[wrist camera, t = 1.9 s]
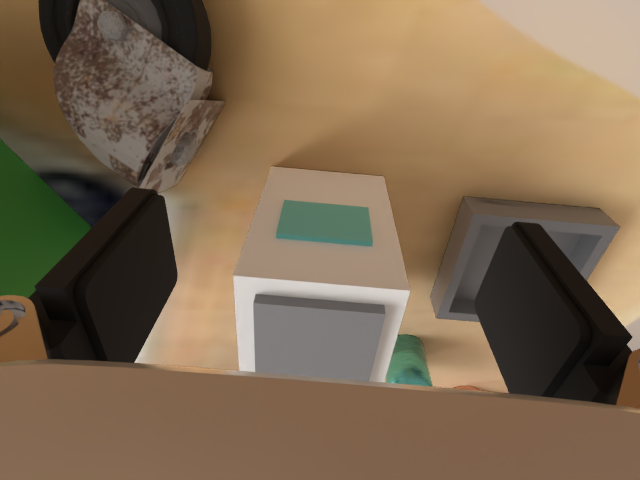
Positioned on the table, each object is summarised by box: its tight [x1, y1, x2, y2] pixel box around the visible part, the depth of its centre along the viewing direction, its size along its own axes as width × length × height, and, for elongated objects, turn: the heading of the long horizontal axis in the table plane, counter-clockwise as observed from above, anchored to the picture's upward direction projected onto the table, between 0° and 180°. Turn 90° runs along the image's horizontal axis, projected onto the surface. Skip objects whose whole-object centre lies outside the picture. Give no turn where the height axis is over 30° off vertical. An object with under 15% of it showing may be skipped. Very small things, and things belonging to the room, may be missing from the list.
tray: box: [430, 196, 620, 322], centre depth 30 cm, size 10×10×2 cm
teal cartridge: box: [385, 335, 433, 387], centre depth 34 cm, size 4×4×8 cm
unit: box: [233, 166, 410, 382], centre depth 25 cm, size 11×8×13 cm
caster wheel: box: [39, 0, 225, 193], centre depth 21 cm, size 7×11×10 cm
